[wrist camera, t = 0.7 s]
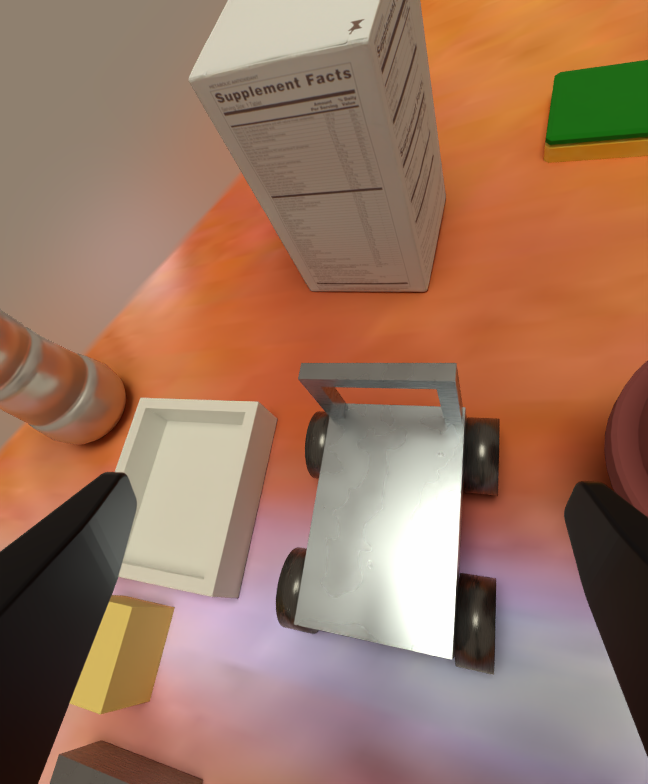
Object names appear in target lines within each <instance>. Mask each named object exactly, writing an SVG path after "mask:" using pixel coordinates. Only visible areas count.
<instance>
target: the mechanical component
mask: <svg viewBox="0 0 648 784" xmlns="http://www.w3.org/2000/svg"><path fill="white" fill-rule="evenodd" d="M604 451H605V459H606V466H607V471H608V474H609V477H610V481H611V484H612V487H613V489H614V491H615V492H616V493H617V494H618V495H619V496H621V497H622V498H623V499H625V500H626V501H627V502H629V503H630V504H631V505H633V506H634V507H635V508H636V509H638V510H639V511H640V512H642V513H643V514H644V515H646V516H647V517H648V361H647V362H646V363H645V364H643V365H642V366H641V367H640V368H639V369H638V370H637V371H636V372H635V373H634V375H633V376H632V377H631V379H630V380H629V381H628V383H627V384H626V385H625V387H624V389H623V390H622V392H621V394H620V395H619V397H618V399H617V401H616V402H615V404H614V407H613V409H612V411H611V414H610V416H609V419H608V423H607V428H606V432H605V450H604Z"/></svg>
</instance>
